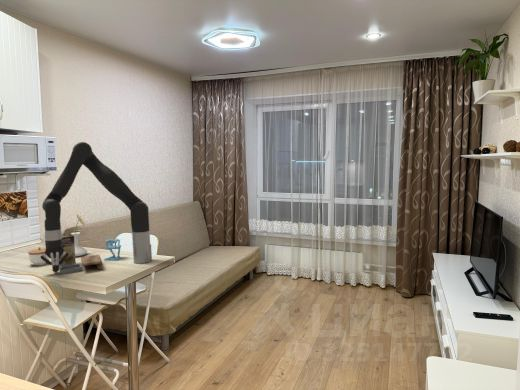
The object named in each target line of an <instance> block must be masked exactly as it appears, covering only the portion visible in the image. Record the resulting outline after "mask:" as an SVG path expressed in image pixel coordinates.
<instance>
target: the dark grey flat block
mask: <svg viewBox="0 0 520 390" xmlns="http://www.w3.org/2000/svg"><path fill="white" fill-rule="evenodd" d="M78 272H83V267H82V262H80V263H76V264H73V265H65V266H60V268H59V275H65V274H72V273H78Z"/></svg>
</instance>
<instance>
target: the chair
mask: <svg viewBox="0 0 520 390" xmlns="http://www.w3.org/2000/svg"><path fill="white" fill-rule="evenodd" d="M120 242H121V239H118V238H116V239H113V238H107V239H106V240H105V244H106V247H105V250H109V251H110V253H111V254H112V255H111V256H109V257H106V258H104V259H103V260H104V262H105V261H106V262H107V261H119V259H120V256H121V255H120V253H121V247H122V245H121V244H120ZM113 244H114V245H113ZM113 250H118V251H117V256H116V254H115V253H114V251H113Z"/></svg>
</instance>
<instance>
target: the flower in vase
mask: <svg viewBox="0 0 520 390" xmlns="http://www.w3.org/2000/svg"><path fill="white" fill-rule="evenodd" d="M76 217H77V219H78V220H77V222H76V224H75V227H74V229H73V230H72V231H74V232H71V233H70V235H73V236H74V243H75V257H82V256H84V255H86V254H88V250H87V249H86V248H85V247H83V246H81V244H79V236H80V234H81V231H80V232H77V230H78V231H79V230H80V227H79V226H78V223H80V224H82V225H83V226H85V224H86V223H85V222H84V220H83V219H82V217H81V216H80V215H79V214H78V213H76Z"/></svg>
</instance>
